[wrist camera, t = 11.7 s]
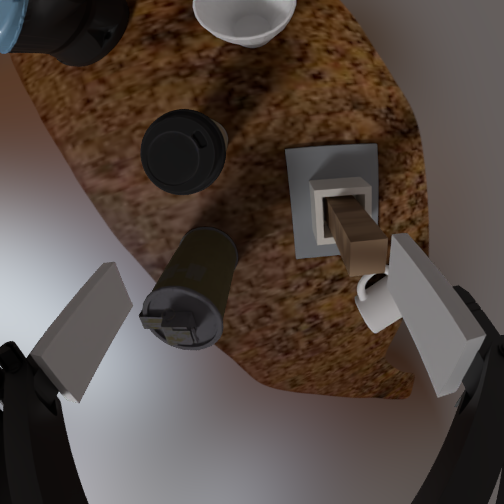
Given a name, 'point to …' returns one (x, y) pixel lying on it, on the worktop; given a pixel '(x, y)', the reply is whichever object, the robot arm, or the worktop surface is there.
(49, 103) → the worktop surface
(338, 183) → the white square holder
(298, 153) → the mat
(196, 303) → the canister
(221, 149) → the coffee cup
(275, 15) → the cup
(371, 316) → the mug
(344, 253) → the brown wooden block
